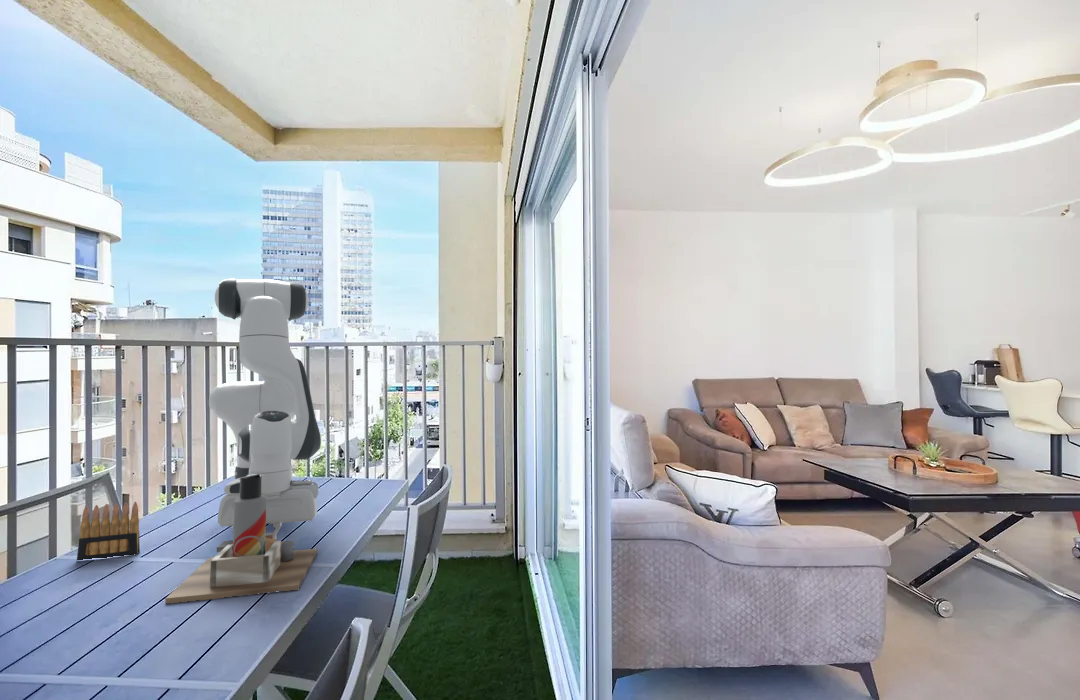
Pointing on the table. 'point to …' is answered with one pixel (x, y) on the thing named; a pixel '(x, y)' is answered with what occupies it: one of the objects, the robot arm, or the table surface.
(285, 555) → the arm
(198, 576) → the cradle
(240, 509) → the lotion bottle
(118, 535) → the ammunition clip
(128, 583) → the table surface
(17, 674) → the table surface
